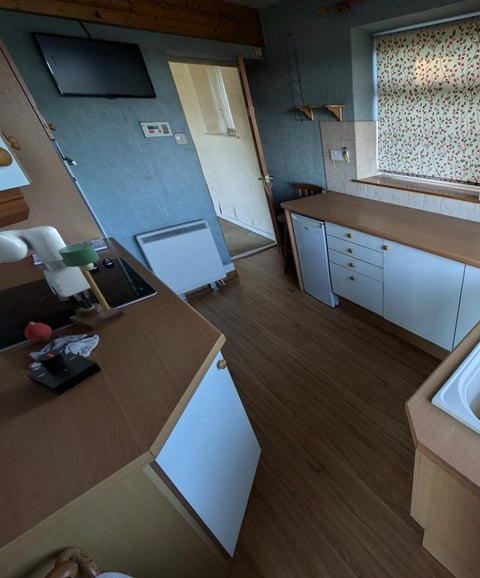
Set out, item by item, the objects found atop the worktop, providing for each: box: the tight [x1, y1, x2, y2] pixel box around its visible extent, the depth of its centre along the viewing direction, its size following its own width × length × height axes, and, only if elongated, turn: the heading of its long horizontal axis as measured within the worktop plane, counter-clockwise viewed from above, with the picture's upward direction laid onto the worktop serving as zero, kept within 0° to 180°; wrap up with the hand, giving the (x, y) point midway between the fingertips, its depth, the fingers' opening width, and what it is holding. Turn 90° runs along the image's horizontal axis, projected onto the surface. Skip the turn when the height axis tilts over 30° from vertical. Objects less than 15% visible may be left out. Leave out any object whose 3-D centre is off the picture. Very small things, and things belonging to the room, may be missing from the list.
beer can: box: [64, 292, 81, 312], centre depth 113 cm, size 5×5×12 cm
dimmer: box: [26, 351, 102, 396], centre depth 85 cm, size 13×10×3 cm
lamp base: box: [69, 302, 125, 331], centre depth 109 cm, size 13×10×4 cm
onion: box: [24, 321, 53, 343], centre depth 97 cm, size 6×6×8 cm
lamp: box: [58, 242, 110, 311], centre depth 101 cm, size 8×8×25 cm
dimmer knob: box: [37, 349, 68, 372], centre depth 83 cm, size 4×4×5 cm
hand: (88, 307), depth 109 cm, fingers closed
